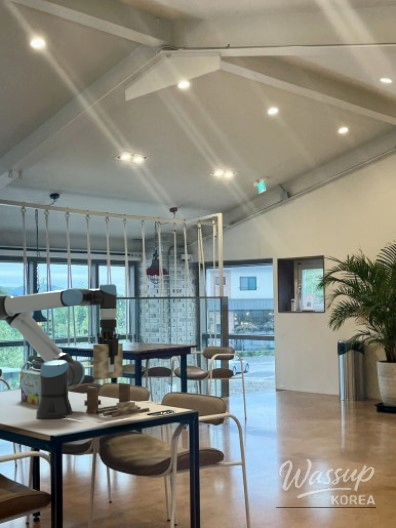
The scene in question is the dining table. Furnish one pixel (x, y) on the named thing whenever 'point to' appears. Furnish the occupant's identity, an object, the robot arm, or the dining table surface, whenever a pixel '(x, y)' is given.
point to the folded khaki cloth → (106, 362)
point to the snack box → (31, 386)
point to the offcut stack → (126, 406)
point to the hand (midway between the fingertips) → (108, 371)
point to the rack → (110, 410)
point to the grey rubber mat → (160, 412)
